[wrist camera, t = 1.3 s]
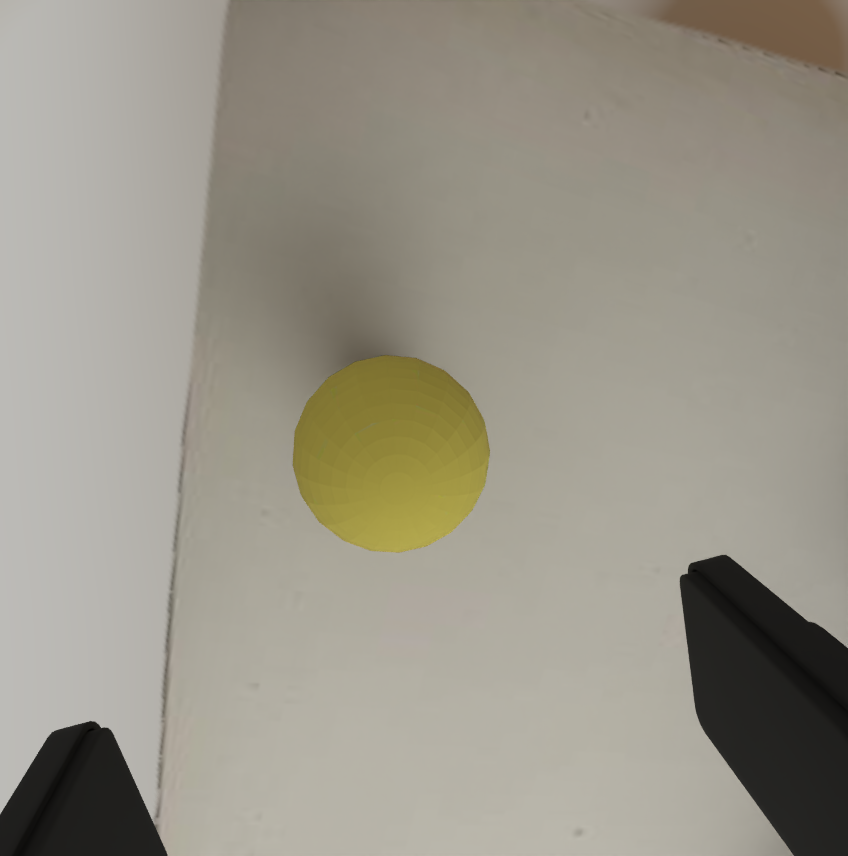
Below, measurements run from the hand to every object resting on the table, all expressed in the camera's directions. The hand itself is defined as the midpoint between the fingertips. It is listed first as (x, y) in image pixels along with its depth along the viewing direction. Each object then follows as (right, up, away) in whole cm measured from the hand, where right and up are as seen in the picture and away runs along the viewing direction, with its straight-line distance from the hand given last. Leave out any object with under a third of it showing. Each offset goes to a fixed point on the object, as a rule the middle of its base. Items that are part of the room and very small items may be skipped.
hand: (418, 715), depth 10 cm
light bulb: (-2, +6, +18) cm, 19 cm away
